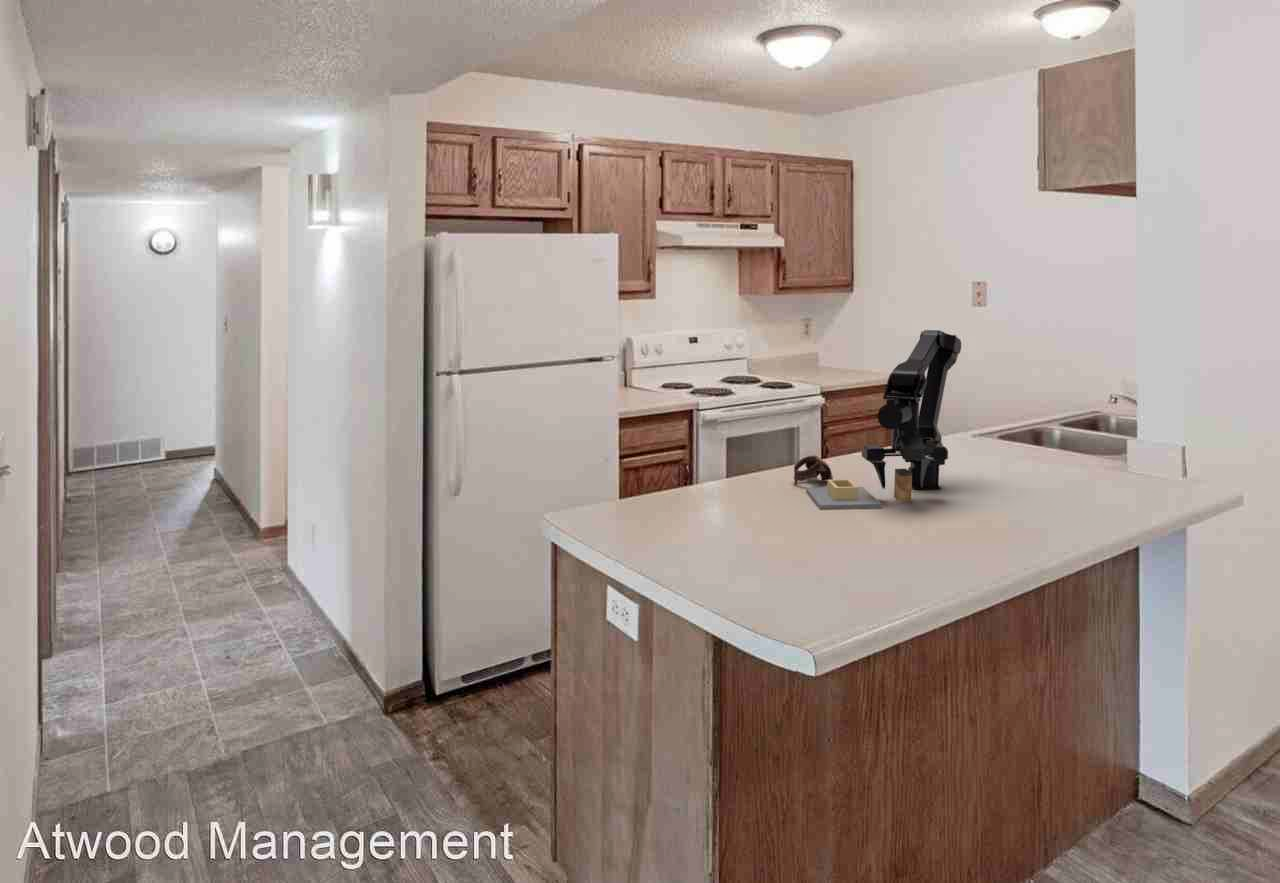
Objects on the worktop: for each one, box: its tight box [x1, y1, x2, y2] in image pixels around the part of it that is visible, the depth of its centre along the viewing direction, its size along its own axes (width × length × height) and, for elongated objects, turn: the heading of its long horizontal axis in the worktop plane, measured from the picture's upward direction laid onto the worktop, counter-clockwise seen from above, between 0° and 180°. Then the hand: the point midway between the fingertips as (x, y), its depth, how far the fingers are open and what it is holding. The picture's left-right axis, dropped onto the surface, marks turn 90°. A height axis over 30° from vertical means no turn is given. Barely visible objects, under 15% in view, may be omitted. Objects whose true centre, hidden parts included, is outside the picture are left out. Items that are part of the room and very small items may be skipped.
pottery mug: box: [793, 455, 834, 484], centre depth 223 cm, size 12×10×8 cm
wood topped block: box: [893, 468, 913, 503], centre depth 204 cm, size 2×5×7 cm, turn 0°
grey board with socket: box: [805, 478, 882, 510], centre depth 205 cm, size 14×16×4 cm
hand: (902, 488), depth 204 cm, fingers open, 9 cm apart
